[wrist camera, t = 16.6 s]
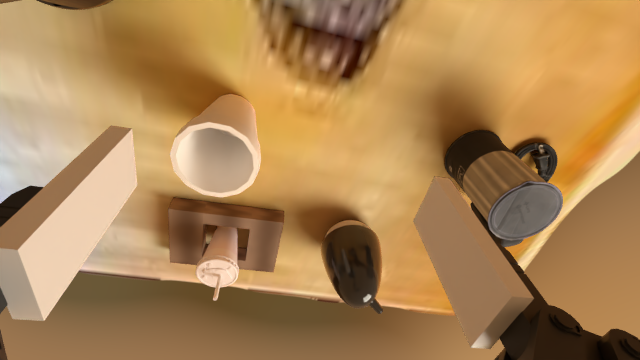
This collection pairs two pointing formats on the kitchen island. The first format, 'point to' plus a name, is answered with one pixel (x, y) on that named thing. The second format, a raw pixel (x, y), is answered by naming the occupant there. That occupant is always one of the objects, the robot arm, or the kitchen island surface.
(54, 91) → the kitchen island surface
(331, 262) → the pump dispenser
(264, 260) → the bottle holder
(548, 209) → the milk frother
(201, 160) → the foam cup
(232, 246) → the smoothie
